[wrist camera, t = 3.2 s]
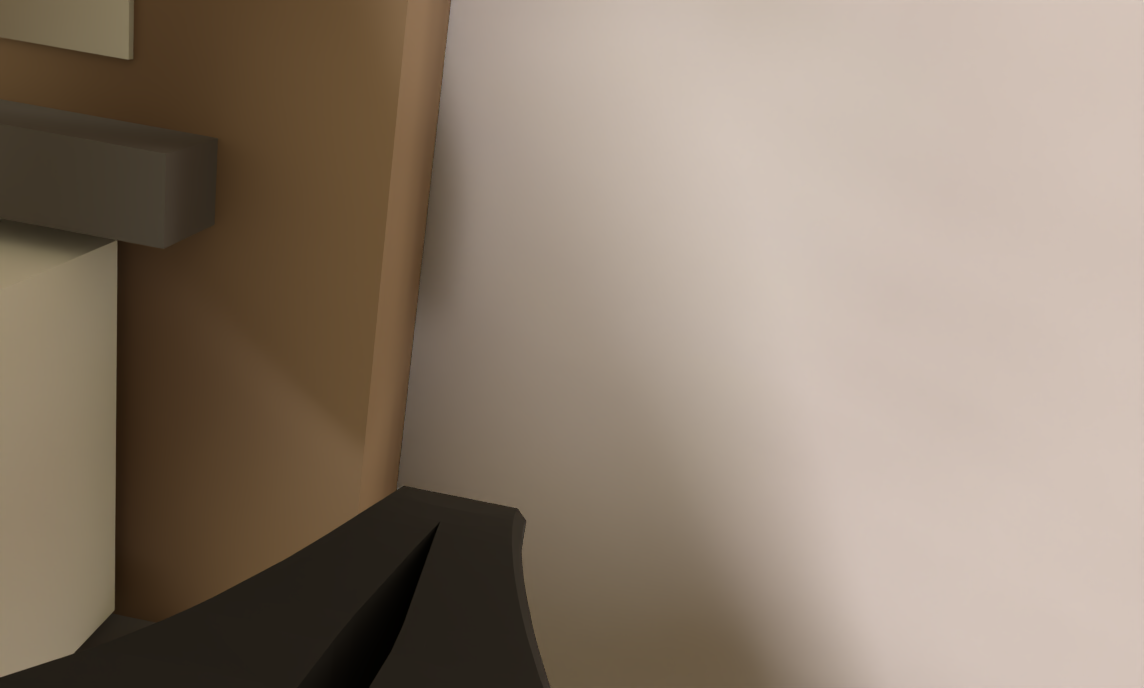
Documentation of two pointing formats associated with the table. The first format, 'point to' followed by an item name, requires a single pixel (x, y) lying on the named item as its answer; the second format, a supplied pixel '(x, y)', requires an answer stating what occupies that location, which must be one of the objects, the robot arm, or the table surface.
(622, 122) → the table surface
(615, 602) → the table surface
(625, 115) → the table surface
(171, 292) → the wooden board with rails
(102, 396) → the cream rectangular block
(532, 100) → the table surface
